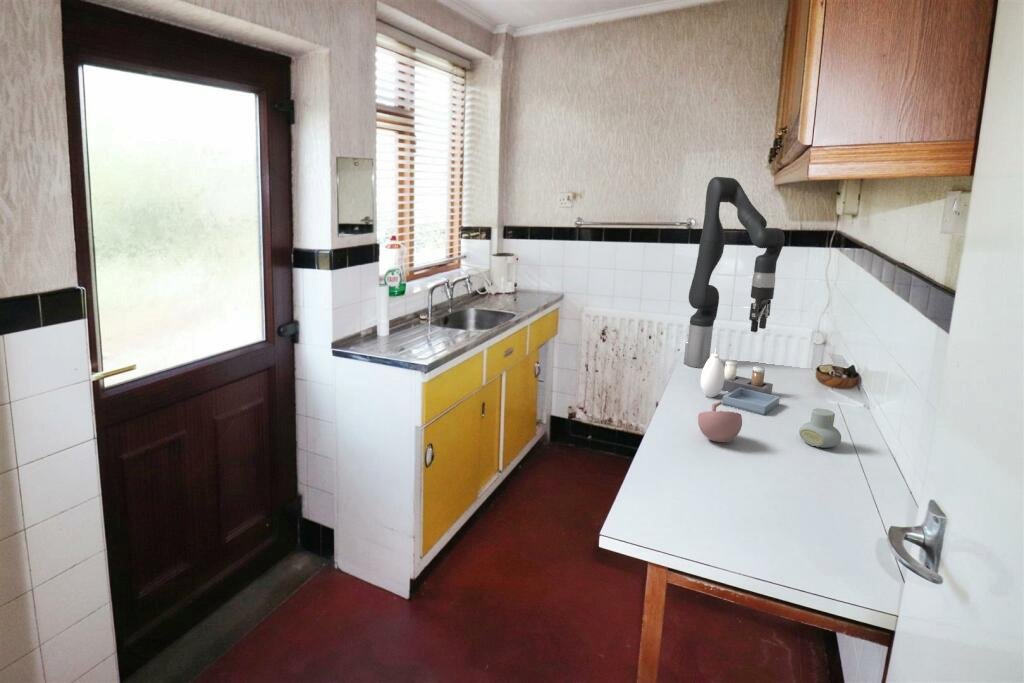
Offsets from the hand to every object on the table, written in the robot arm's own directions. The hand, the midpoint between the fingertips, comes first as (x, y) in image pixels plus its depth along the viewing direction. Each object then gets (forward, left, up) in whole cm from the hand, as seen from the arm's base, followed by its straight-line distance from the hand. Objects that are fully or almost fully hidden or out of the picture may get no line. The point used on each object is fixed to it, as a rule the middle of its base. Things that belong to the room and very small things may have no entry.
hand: (758, 330), depth 222 cm
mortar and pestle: (+12, -56, -22) cm, 62 cm away
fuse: (-6, -6, -22) cm, 24 cm away
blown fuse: (+4, -6, -22) cm, 23 cm away
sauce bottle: (-6, -20, -22) cm, 31 cm away
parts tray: (+7, -18, -22) cm, 29 cm away
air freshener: (+34, -37, -22) cm, 55 cm away
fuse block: (-1, -6, -22) cm, 23 cm away
